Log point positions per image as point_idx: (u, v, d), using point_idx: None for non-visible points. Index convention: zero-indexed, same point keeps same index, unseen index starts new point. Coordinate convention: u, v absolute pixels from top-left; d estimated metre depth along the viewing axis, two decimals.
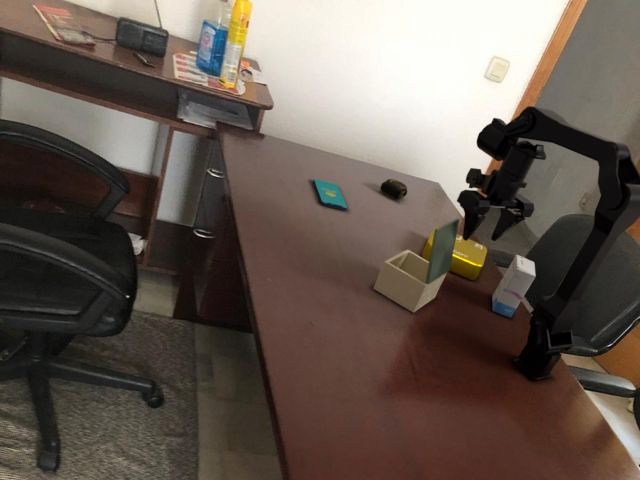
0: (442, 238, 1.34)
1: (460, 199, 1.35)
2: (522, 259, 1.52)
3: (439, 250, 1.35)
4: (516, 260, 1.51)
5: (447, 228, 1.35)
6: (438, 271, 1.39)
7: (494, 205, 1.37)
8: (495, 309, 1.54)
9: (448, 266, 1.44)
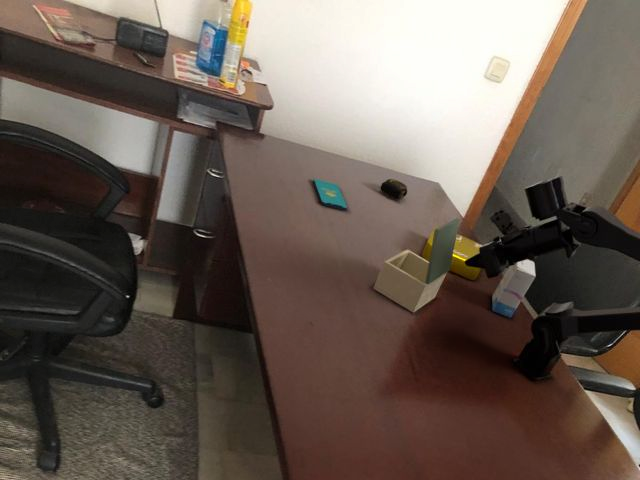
0: (442, 238, 1.34)
1: (484, 253, 1.24)
2: None
3: (439, 250, 1.35)
4: None
5: (447, 228, 1.35)
6: (438, 271, 1.39)
7: None
8: (495, 309, 1.54)
9: (448, 266, 1.44)
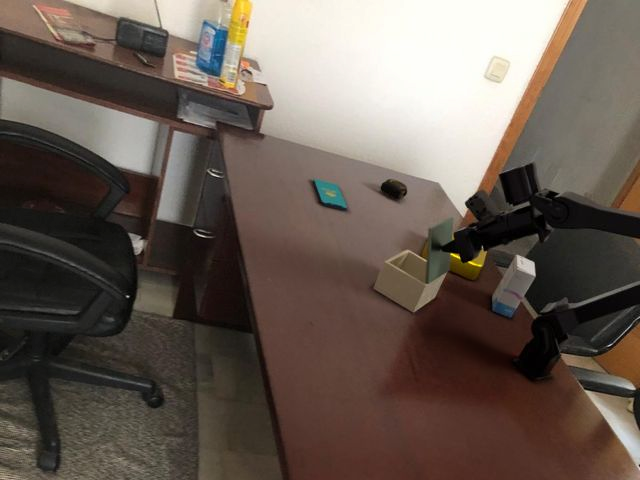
0: (437, 237, 1.35)
1: (458, 238, 1.26)
2: (522, 259, 1.52)
3: (435, 249, 1.36)
4: (516, 260, 1.51)
5: (441, 226, 1.35)
6: (438, 270, 1.39)
7: (478, 245, 1.31)
8: (495, 309, 1.54)
9: (447, 266, 1.44)
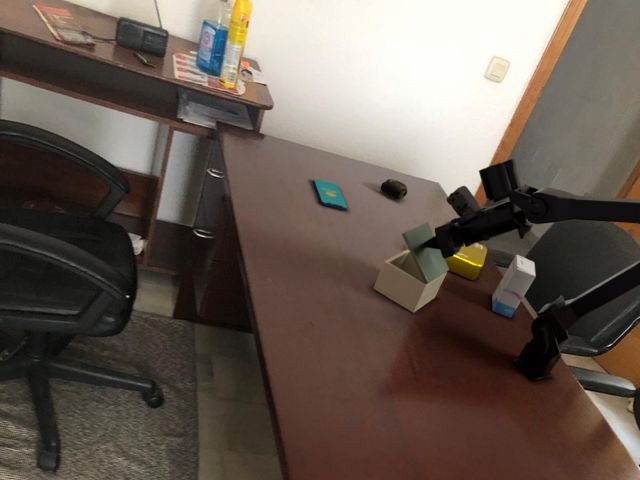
0: (416, 240, 1.38)
1: (439, 234, 1.27)
2: (522, 259, 1.52)
3: (420, 251, 1.38)
4: (516, 260, 1.51)
5: (416, 230, 1.38)
6: (434, 270, 1.40)
7: (460, 241, 1.33)
8: (495, 309, 1.54)
9: (444, 265, 1.44)
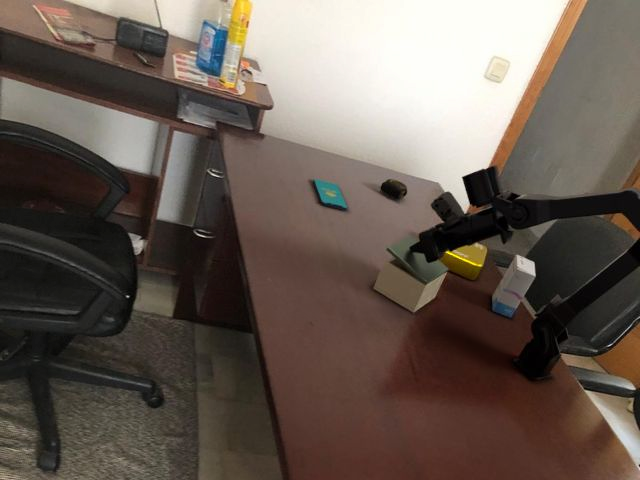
0: (402, 251, 1.40)
1: (423, 239, 1.29)
2: (522, 259, 1.52)
3: (410, 258, 1.40)
4: (516, 260, 1.51)
5: (400, 243, 1.42)
6: (431, 271, 1.40)
7: (444, 246, 1.35)
8: (495, 309, 1.54)
9: (442, 266, 1.44)
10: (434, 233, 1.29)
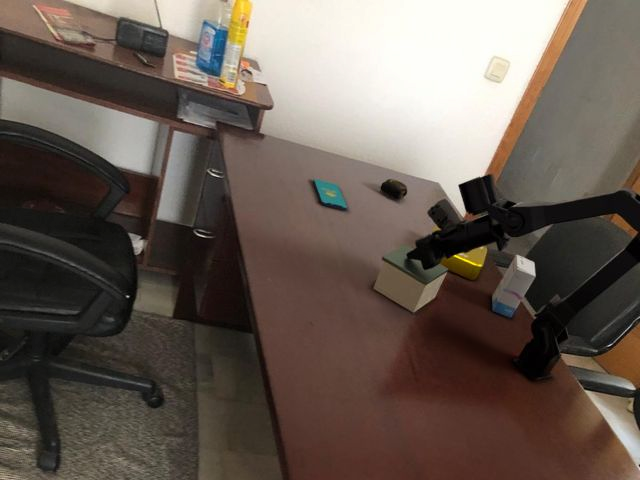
0: (398, 258, 1.41)
1: (419, 246, 1.31)
2: (522, 259, 1.52)
3: (406, 263, 1.40)
4: (516, 260, 1.51)
5: (395, 252, 1.43)
6: (429, 272, 1.41)
7: (441, 253, 1.36)
8: (495, 309, 1.54)
9: (441, 267, 1.45)
10: (430, 240, 1.30)
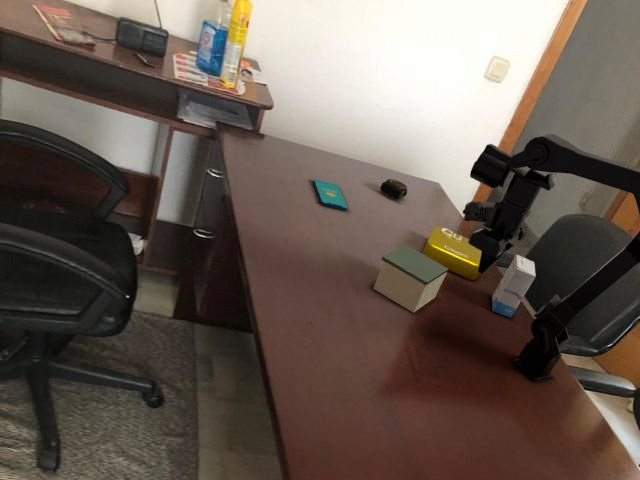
0: (398, 258, 1.41)
1: (474, 242, 1.24)
2: (522, 259, 1.52)
3: (406, 263, 1.40)
4: (516, 260, 1.51)
5: (395, 252, 1.43)
6: (429, 272, 1.41)
7: None
8: (495, 309, 1.54)
9: (441, 267, 1.45)
10: (480, 230, 1.24)
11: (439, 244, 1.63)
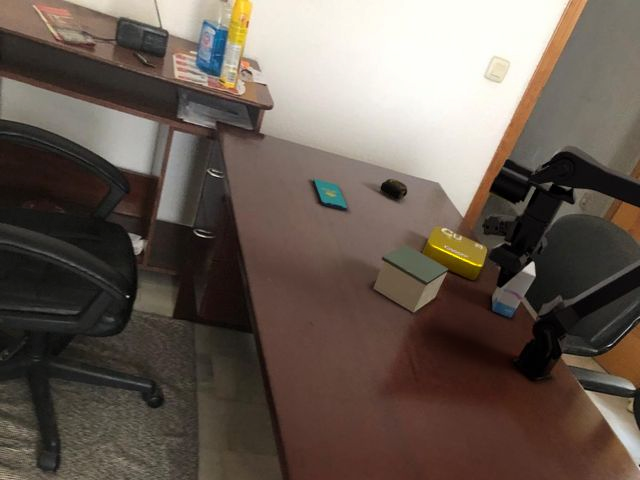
0: (398, 258, 1.41)
1: (494, 257, 1.21)
2: None
3: (406, 263, 1.40)
4: None
5: (395, 252, 1.43)
6: (429, 272, 1.41)
7: None
8: (495, 309, 1.54)
9: (441, 267, 1.45)
10: (501, 245, 1.21)
11: (439, 244, 1.63)
